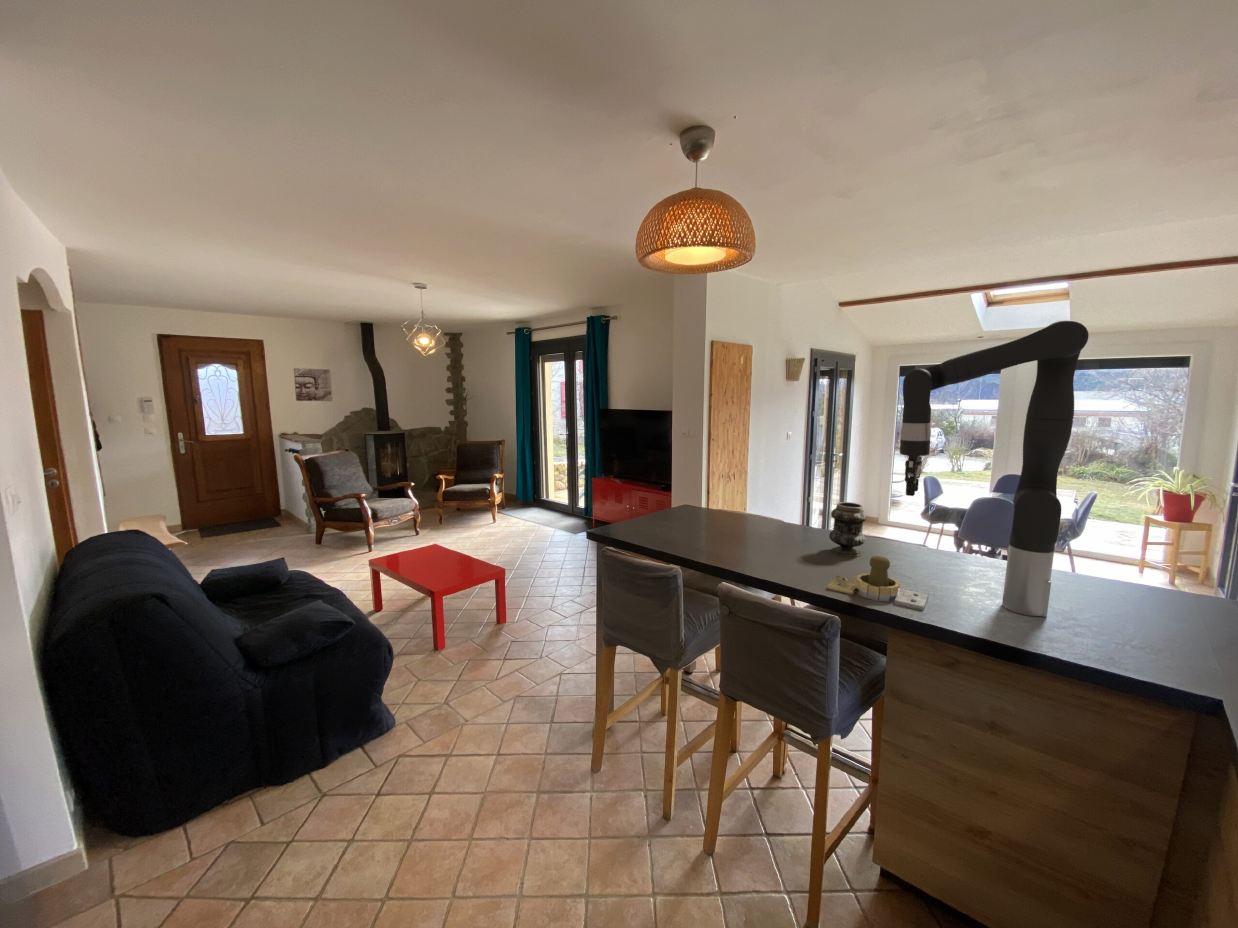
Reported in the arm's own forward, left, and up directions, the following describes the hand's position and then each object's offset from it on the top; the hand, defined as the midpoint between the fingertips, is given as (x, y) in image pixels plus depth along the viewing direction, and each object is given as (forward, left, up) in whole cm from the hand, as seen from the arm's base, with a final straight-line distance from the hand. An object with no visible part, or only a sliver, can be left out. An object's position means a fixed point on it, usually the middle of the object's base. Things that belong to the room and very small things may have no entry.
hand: (911, 493), depth 146 cm
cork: (+5, +12, -29) cm, 32 cm away
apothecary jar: (+22, -22, -29) cm, 42 cm away
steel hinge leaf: (+2, +12, -28) cm, 31 cm away
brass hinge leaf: (+9, +12, -28) cm, 32 cm away
